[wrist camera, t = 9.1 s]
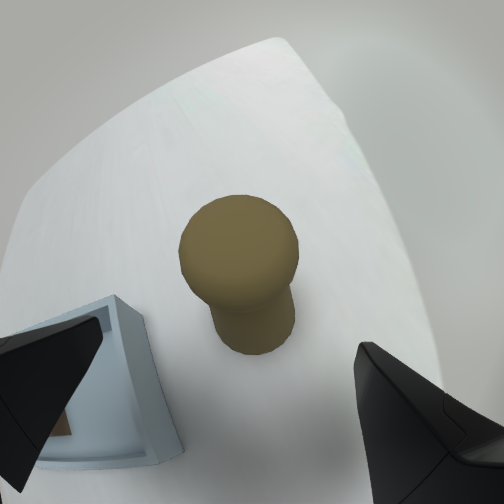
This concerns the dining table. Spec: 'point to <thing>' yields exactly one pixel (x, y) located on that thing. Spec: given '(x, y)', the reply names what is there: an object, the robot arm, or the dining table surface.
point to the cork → (243, 270)
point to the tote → (114, 400)
